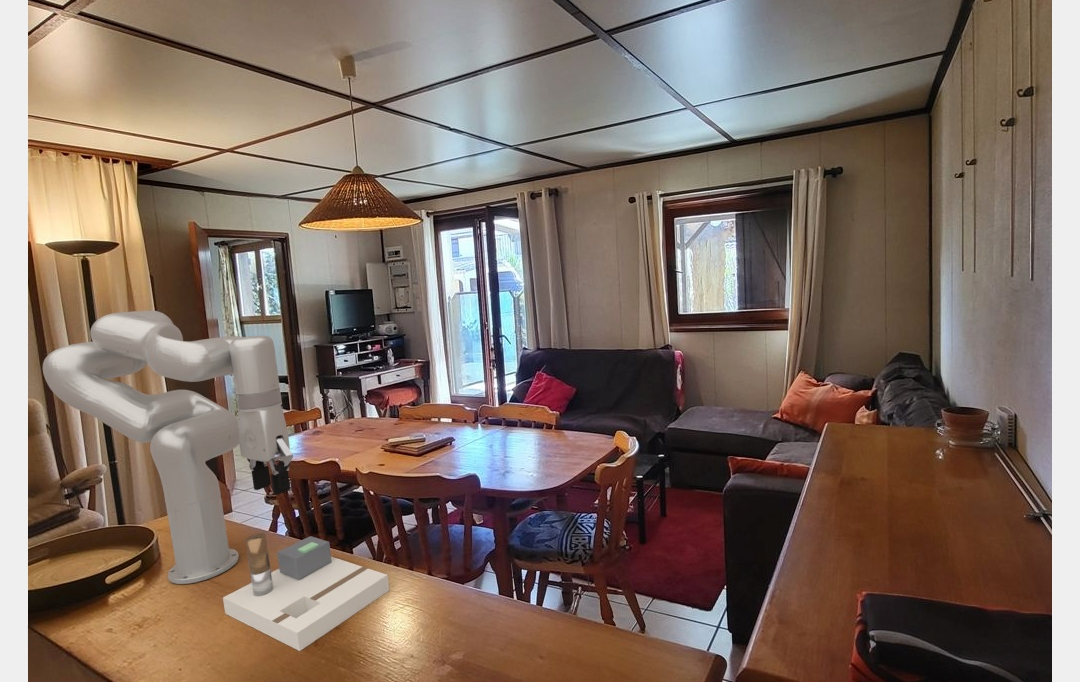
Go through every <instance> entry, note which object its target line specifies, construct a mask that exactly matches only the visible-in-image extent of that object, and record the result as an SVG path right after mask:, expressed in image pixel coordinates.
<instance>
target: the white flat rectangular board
mask: <svg viewBox="0 0 1080 682" xmlns="http://www.w3.org/2000/svg"><path fill="white" fill-rule="evenodd" d="M331 559H332V562H330V563H328V564H326V565H325V566H323V567H321V568H319V569H317V570H316V571H314V572H312V573H310V574H308V575H307V576H305V577H303V578H301V579H299V580H298V579H296V578H293V577H290V576H288V575H285V574H282V573H280V570H279V568H277V569H275V570H273V571H271V575H272V582H273V590H272V591H271V592H270V593H268V594H266V595H263V596H254V595H253V589H252V582H250V583H249V584H246V585H245V586H242V587H241V588H239V589H237V590H235V591H233V592H231V593H229V594H226V595H225V596H223V597H222V601H223V606H224V607H223V608H224V614H225V615H227V616H228V617H229V616H230V617H232V619H235V620H237V621H239V622H241V623H243V624H245V625H246V626H249V627H251V628H252V629H254V630H257V631H259V632H260V633H263V634H265V635H267V636H269V637H271V638H273V639H275V640H277V641H279V642H281V643H283V644H285V645H287V646H289V647H291V648H293V649H295V650H297V651H299V652H301V651H302V650H303V649H305V648H306V647H308V646H309V645H311V644H312V643H314V642H315V641H316V640H318V639H319V638H321V637H323V636H324V635H326V634H327V633H330V631H332V630H333V629H334V628H337V626H339V625H341V624H342V623H343V622H345V621H346V620H348V619H349V618H351V617H352V616H354V615H355V614H357V613H358V612H360V611H361V610H363V609H364V608H366V607H367V606H369V605H370V604H372V603H373V602H375V601H376V600H377V599H379V598H380V597H382V596H383V595H384V594H386V593H388V592H390V586H389V585H390V583H389V575H388V574H386V573H384V572H381V571H377V570H374V569H371V568H368V567H367V566H361V565H360V564H359V565H358V564H356V563H353V562H349V561H346V560H343V559H340V558H337V557H333V556H331Z"/></svg>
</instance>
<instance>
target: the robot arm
mask: <svg viewBox="0 0 1080 682" xmlns="http://www.w3.org/2000/svg"><path fill="white" fill-rule="evenodd" d="M89 335H90V339H91V341H86V342H80V343H73V344H68V345H65V346H62V347H59V348H57V349H55V350H53V351H51V352H50V353H48V354H47V356H46V357H45V359H44V360H43V363H42V373H43V377H44V379H45V382H46V383H47V386H48V387H49V389H50V390H51V391H52V393H53V394H54V395H55V396H56V397H57V399H59V400H61V401H62V402H64V403H66V404H67V405H69V406H70V407H72V408H74V409H76V410H79V411H80V412H82V413H85V414H87V415H89V416H91V417H93V418H96V419H97V420H99V421H100V422H102V423H103V424H105V425H106V426H108V427H110V428H112V429H113V430H115V431H117V432H118V433H120V434H122V435H123V436H125V437H126V438H128V439H130V440H132V441H134V442H137V443H140V444H141V443H142V444H145V443H150V445H149V451H150V455H151V457H152V460H153V463H154V465H155V467H156V470H157V472H158V476H159V478H160V481H161V486H162V491H163V495H164V497H163V498H164V501H165V507H166V512H167V520H168V525H169V530H170V531H169V532H170V537H171V543H172V548H173V549H172V550H173V554H174V556H173V557H174V562H175V564H174V565H173V566H172V567H171V568H170V569H169V571H168V573H167V577H168V581H169V582H171V583H172V584H177V585H187V584H188V585H189V584H194V583H199V582H202V581H205V580H208V579H209V580H210V579H211V578H214V577H216V576H219V575H221V574H224V572H226V571H229V570H230V569H231V568H232V567H234V566H235V565H236V564H237V563H238V561H239V557H240V556H239V552H238V551H237V550H236V549H234V548H230V547H229V541H228V540H229V539H228V534H227V528H226V521H225V514H224V508H223V502H222V495H221V488H220V483H219V480H218V478H217V476H216V475H215V473H214V471H212V470H211V469H210V467H209V466H208V465H207V464H206V462H207V461H209V460H212V459H213V458H217V457H218V456H221V455H224V454H226V453H229V452H230V451H232V450H234V449H235V448H237V447H238V446H239V451H240V456H242V457H243V458H245V459H246V460H247V461H248V463H249V467H248V468H249V470H250V471H251V477H252V478H251V479H252V483H253V490H255V491H259V490H261V489H265V488H267V487H270V486H272V487H271V488H272V494H273V495H275V496H278V495H281V494H283V493H285V492H288V491H291V483H290V476H289V471H290V464H291V462H292V460H293V458H294V455H293V453H292V452H291V449H290V439H289V433H288V428H287V423H286V419H285V415H284V411H283V407H282V405H283V402H282V401H283V400H282V396H281V395H282V394H281V388H280V387H281V386H280V379H279V371H278V366H277V358H276V350H275V344H274V340H273V339H272V338H271V337H270V336H269V335H250V336H237V335H234V336H233V335H231V336H229V335H228V336H221V337H220V336H219V337H213V338H206V339H199V340H192V341H186V340H185V341H184V337H183V334H182V332H181V330H180V328H178V327H177V326H176V325H175V324H174V323H173V321H172V319H171V318H170V317H169V316H167V315H166V314H165V313H163V312H160V311H158V310H135V311H121V312H114V313H113V312H112V313H109V314H106V315H104V316H103V315H102V316H101V317H100V318H98V319H97V320H96V321H95V322H93V324H92V325H91V328H90V333H89ZM147 365H148V367H149V368H150V369H151V370H152V371H153V372H154V373H155V374H156V375H158V376H161V377H165V378H168V379H172V380H175V381H176V380H177V381H181V382H190V383H194V382H195V383H196V382H202V381H207V380H211V379H214V378H219V377H225V376H229V375H230V376H231V375H233V381H234V387H235V388H234V389H235V394H236V402H237V403H236V404H237V409H238V411H237V416H236V415H235V414H234V413H233V412H231V411H230V410H228V409H226V408H225V407H223V406H221V405H220V404H217V403H216V402H214V401H212V400H211V399H209V398H207V397H205V396H203V395H202V394H200V393H198V392H196V391H193V390H190V389H189V390H188V389H176V390H175V389H174V390H169V391H165V392H161V393H155V394H146V393H144V392H141V391H139V390H137V389H135V388H134V387H133V386H131V385H129V384H126V383H123V382H121V381H116V380H110V379H115V378H120V377H125V376H130V375H132V374H135V373H137V372H139V371H141V370H142V369H144V368H145V367H146V366H147ZM276 455H277V456H276ZM279 460H280V461H279ZM276 461H278V463H276ZM267 462H268V464H269V465H267ZM270 470H271V472H272V474H270Z"/></svg>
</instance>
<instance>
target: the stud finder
mask: <svg viewBox="0 0 1080 682" xmlns="http://www.w3.org/2000/svg"><path fill="white" fill-rule="evenodd" d="M276 553H277V554H276V555H277V561H278V569H279V570H280V573H282V574H285V575H288V576H290V577H293V578H296V579H298V580H299V579H301V578H303V577H305V576H307V575H308V574H310V573H312V572H314V571H316V570H317V569H319V568H321V567H323V566H325V565H326V564H328V563H330V562H332V559H331V557H332V554H331V553H332V552H331V545H330V541H327V540H324V539H321V538H318V537H314V536H311V535H310V536H308V537H306V538H303V539H302V540H300V541H298V542H296V543H294V544H293V543H292V544H291V545H289V546H287V547H284V548H283V549H281V550H279V551H277V552H276Z"/></svg>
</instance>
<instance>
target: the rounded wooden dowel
mask: <svg viewBox="0 0 1080 682" xmlns="http://www.w3.org/2000/svg"><path fill="white" fill-rule="evenodd" d="M245 547H246V554H247V561H248V566H249V574H250V581H251V582H250V583H252V589H253V595H254V596H263V595H266V594H268V593H270V592H271V591H272V590H273V582H272V575H271V572H272V570H271V562H270V556H269V555H270V553H269V549H268V542H267V535H266V533H255V534H252V535H250V536H248V537H247V538H245Z"/></svg>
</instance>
